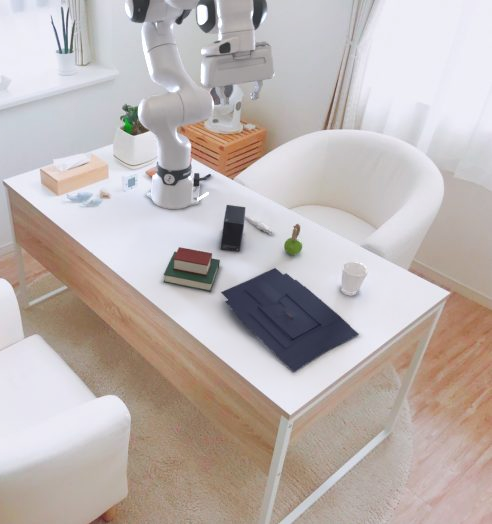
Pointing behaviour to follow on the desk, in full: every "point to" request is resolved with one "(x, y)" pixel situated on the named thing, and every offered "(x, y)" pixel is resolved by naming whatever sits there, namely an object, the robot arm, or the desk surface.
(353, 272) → the cup
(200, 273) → the pocket dictionary
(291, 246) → the snail figurine
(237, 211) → the small box
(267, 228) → the stylus pen
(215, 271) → the hardcover book
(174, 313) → the desk surface
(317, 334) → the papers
